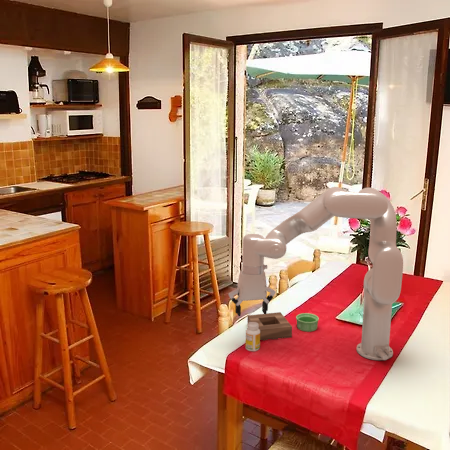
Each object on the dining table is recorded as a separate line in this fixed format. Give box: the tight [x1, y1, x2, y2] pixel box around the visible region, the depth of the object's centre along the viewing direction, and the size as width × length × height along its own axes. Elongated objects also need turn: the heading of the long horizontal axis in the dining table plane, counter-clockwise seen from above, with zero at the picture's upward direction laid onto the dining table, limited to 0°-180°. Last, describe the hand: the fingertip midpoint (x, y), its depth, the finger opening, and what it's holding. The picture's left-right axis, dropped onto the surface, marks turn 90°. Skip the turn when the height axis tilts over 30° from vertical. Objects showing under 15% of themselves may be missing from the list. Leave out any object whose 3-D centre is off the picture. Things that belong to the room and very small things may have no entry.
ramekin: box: [295, 312, 320, 333], centre depth 196 cm, size 9×9×4 cm
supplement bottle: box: [245, 322, 261, 352], centre depth 179 cm, size 5×5×10 cm
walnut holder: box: [246, 311, 293, 341], centre depth 193 cm, size 14×14×4 cm
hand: (251, 313), depth 177 cm, fingers open, 9 cm apart
